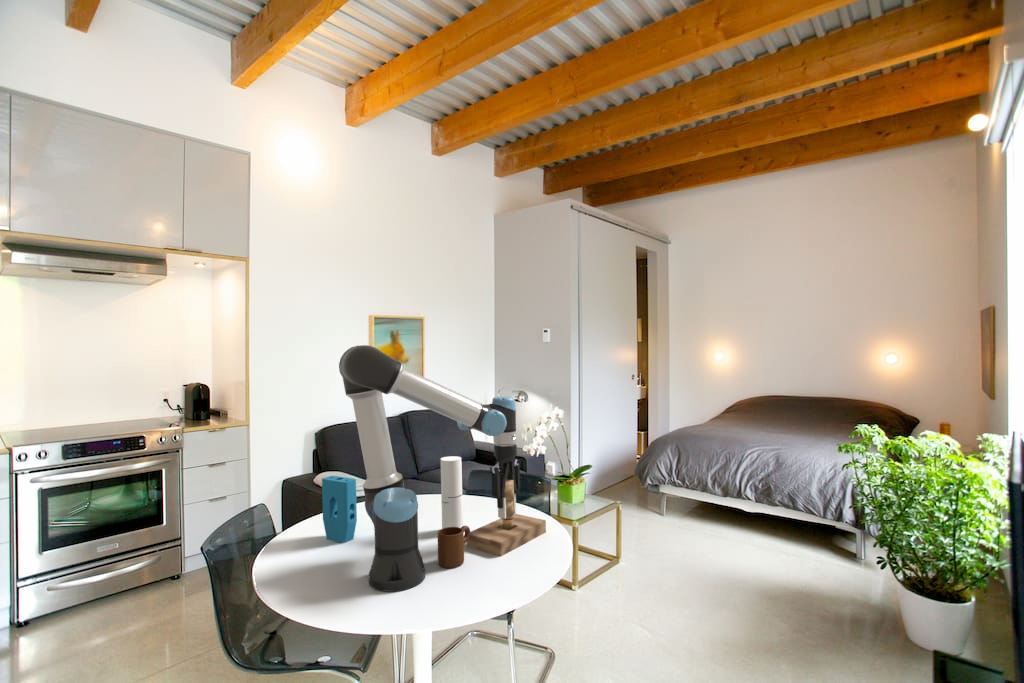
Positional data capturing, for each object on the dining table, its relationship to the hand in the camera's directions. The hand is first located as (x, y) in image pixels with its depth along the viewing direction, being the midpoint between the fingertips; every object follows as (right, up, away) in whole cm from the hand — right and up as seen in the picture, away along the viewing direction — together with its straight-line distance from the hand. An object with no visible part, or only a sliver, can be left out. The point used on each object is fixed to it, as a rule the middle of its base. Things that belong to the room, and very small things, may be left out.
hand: (507, 515), depth 169 cm
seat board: (0, -8, 0) cm, 8 cm away
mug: (-15, -8, -16) cm, 24 cm away
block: (-56, -9, +4) cm, 57 cm away
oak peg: (0, -5, 0) cm, 5 cm away
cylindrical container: (-19, -8, +8) cm, 22 cm away
